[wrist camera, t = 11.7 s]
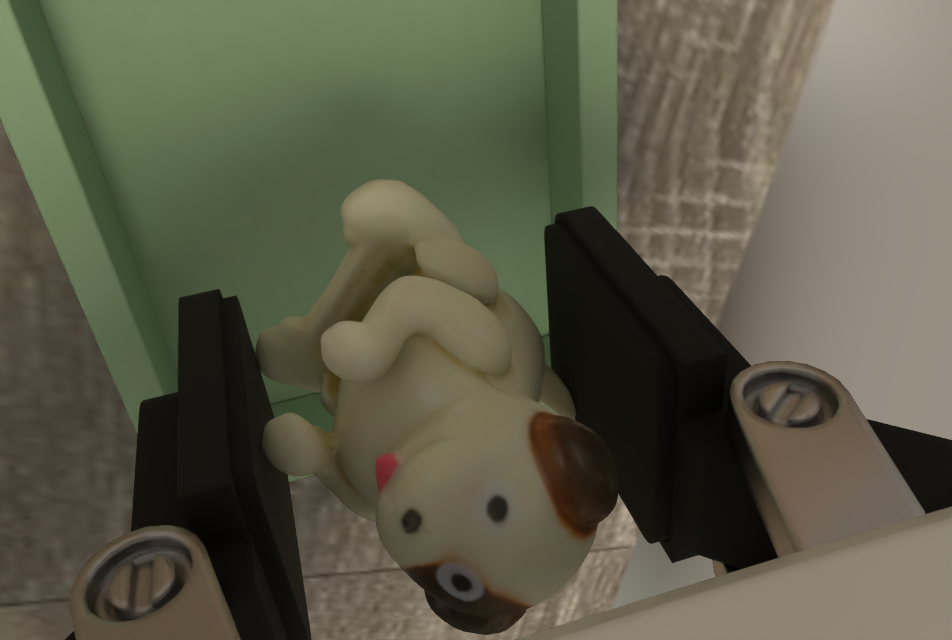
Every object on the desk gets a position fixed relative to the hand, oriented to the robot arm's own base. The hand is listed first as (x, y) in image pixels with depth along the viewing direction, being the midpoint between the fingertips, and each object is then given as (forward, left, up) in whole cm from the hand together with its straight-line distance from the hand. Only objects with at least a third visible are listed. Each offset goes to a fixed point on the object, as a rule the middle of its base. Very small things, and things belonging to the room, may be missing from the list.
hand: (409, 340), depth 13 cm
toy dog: (0, 0, -1) cm, 1 cm away
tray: (0, 0, -7) cm, 7 cm away
